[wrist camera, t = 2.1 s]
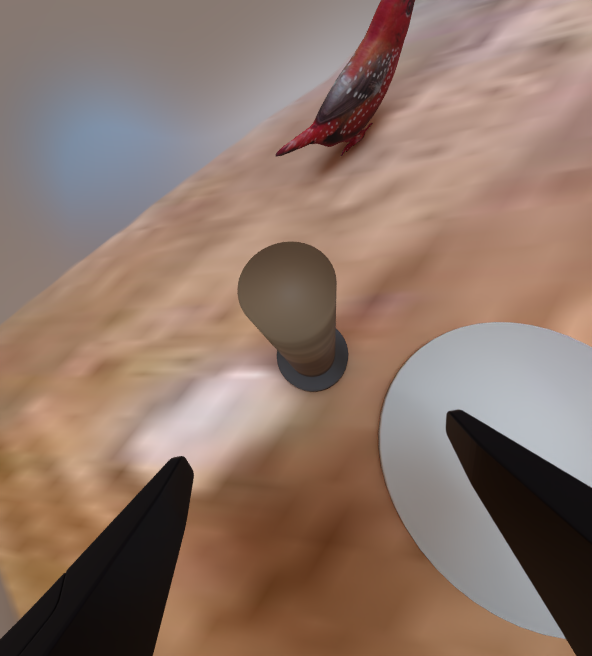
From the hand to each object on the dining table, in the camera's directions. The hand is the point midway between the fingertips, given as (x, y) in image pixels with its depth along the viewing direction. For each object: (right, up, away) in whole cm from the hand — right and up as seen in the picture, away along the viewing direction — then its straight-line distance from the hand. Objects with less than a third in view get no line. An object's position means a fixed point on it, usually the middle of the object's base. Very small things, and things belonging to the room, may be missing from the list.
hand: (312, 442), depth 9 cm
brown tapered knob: (+1, +2, +13) cm, 13 cm away
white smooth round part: (+14, -5, +9) cm, 17 cm away
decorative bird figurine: (+5, +22, +19) cm, 30 cm away
